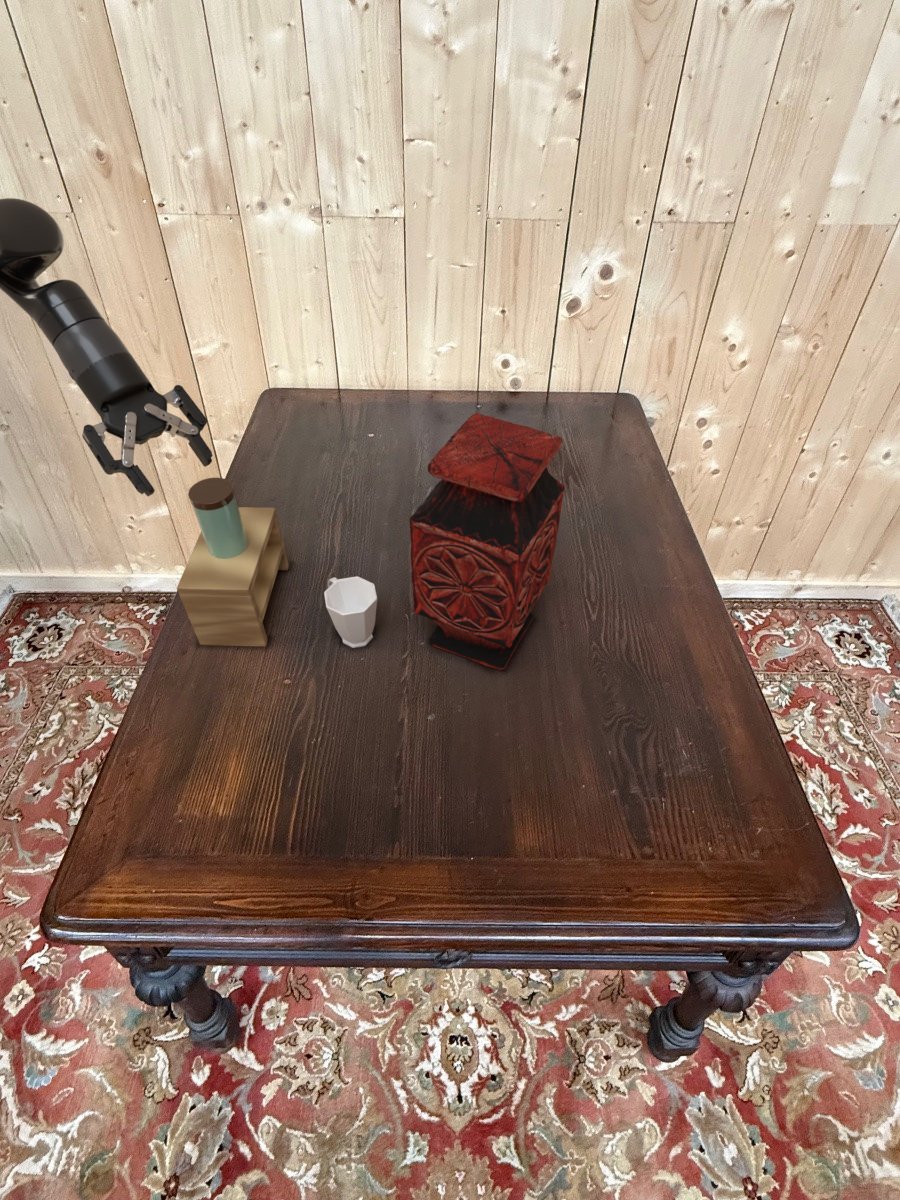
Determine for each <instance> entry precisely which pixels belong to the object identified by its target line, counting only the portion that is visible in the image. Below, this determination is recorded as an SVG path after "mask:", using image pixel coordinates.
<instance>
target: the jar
mask: <svg viewBox="0 0 900 1200" xmlns="http://www.w3.org/2000/svg"><path fill="white" fill-rule="evenodd" d="M235 495H236V494H235V490H234V487H233V484H232V482H231V481H230V480H228V479H226V478H223V477H207V478H204V479H201V480H199V481H197V482H196V483H194V484H193V485H192V486H191V487H190V488H189V489H188V493H187V496H188V499H189V502H190V505H191V507H192V509H193V512H194V515H195V517H196V520H197V524H198V526H199V528H200V533H201V532H202V535H203V537H204V540H205V543H206V546H207V549H208V551H209V553H210V554H211V555H212V556H214V557H216V558H221V559H227V558H232V557H235V556H237V555H239V554H241V553H242V552H243V551H244V550H245V549H246V548H247V546H248V539H247V535H246V532H245V528H244V525H243V522H242V518H241V515H240V511H239V508H238V507H239V505H238V502H237V499H236V496H235Z"/></svg>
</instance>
